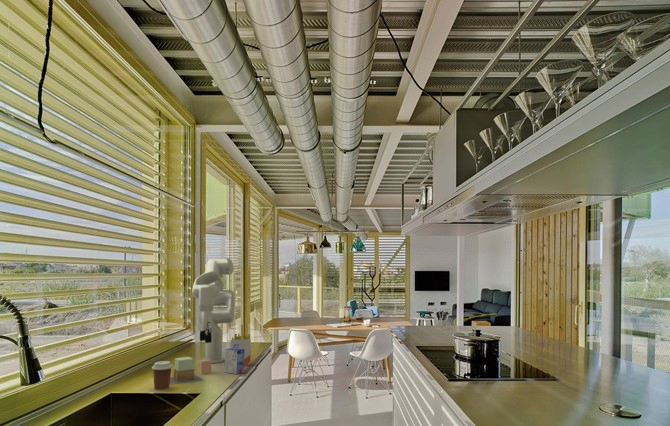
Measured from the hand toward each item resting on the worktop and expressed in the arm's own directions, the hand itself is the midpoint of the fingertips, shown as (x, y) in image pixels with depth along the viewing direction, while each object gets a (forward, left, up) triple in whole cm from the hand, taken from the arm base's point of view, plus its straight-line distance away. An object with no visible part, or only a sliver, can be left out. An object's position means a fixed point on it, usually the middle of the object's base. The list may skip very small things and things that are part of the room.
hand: (205, 341), depth 250 cm
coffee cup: (+21, -26, -17) cm, 37 cm away
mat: (+8, -13, -17) cm, 22 cm away
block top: (+8, -13, -11) cm, 19 cm away
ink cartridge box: (+6, +14, -17) cm, 23 cm away
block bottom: (+8, -13, -16) cm, 22 cm away
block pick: (0, 0, -17) cm, 17 cm away
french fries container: (-10, +23, -17) cm, 30 cm away
